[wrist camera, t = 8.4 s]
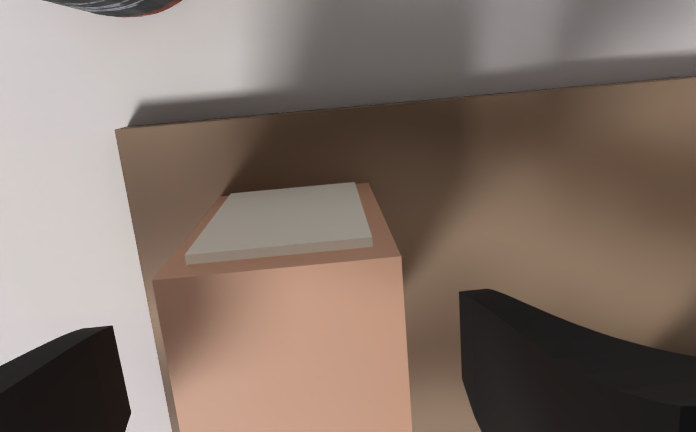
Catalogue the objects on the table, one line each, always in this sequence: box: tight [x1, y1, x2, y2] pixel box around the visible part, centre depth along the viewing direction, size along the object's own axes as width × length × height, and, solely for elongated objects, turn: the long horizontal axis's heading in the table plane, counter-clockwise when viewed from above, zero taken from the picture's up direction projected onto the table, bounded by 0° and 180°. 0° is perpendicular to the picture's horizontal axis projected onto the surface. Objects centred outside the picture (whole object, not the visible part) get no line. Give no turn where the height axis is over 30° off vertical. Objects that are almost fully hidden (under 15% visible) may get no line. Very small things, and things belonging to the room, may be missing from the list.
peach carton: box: [152, 182, 412, 432], centre depth 14 cm, size 5×4×7 cm
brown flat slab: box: [115, 76, 696, 432], centre depth 18 cm, size 18×23×3 cm
